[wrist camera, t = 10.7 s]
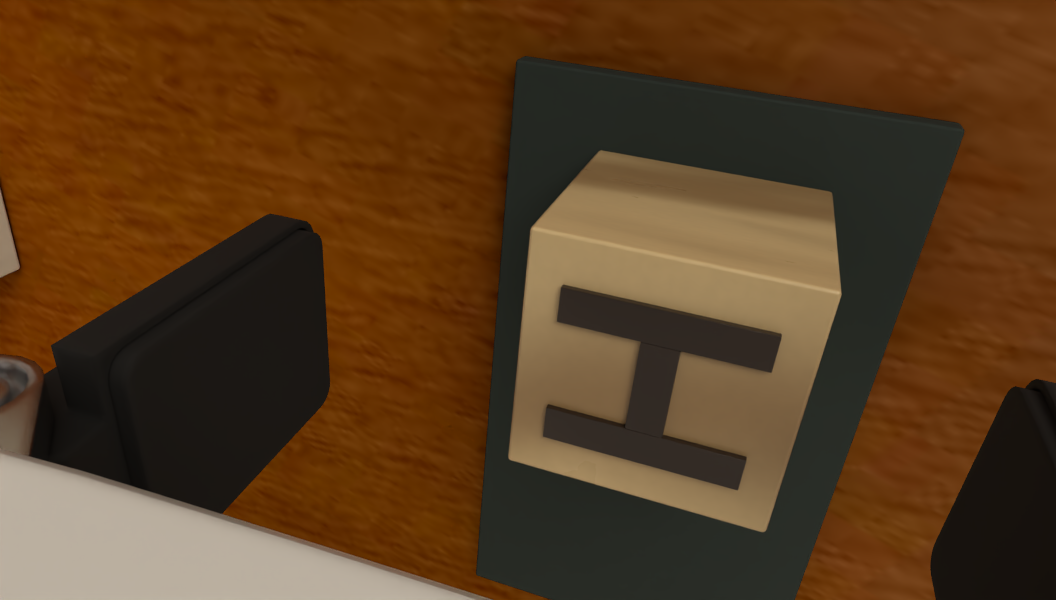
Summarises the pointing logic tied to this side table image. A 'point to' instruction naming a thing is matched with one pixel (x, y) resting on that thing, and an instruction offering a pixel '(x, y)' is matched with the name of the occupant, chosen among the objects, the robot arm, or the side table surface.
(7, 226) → the letter i
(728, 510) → the letter h
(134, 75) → the side table surface
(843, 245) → the word mat
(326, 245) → the side table surface
